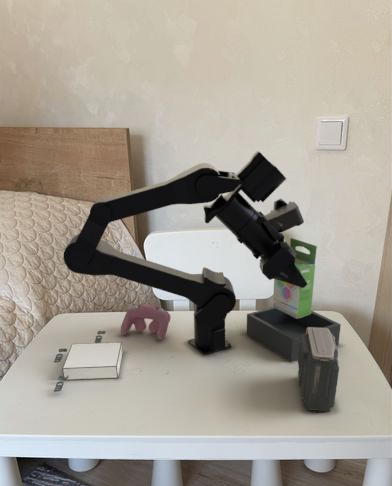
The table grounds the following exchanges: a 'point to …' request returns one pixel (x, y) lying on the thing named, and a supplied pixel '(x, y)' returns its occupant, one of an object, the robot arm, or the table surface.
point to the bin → (286, 330)
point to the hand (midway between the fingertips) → (300, 278)
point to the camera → (318, 368)
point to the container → (91, 361)
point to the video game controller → (146, 312)
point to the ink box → (292, 296)
